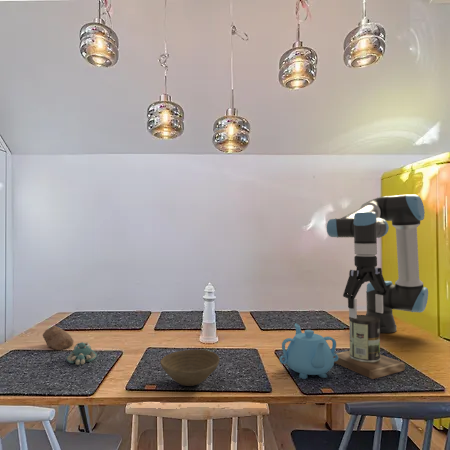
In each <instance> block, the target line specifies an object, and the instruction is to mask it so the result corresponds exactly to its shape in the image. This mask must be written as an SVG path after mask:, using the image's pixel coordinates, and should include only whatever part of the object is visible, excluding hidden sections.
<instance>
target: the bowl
mask: <svg viewBox="0 0 450 450" xmlns="http://www.w3.org/2000/svg"><path fill="white" fill-rule="evenodd" d="M159 362H160V366H161V368H162V370H163V371H164V372H165V373H166V374H167V375H168V376H169V377H170V378H172V380H173V381H174V382H175V383H177V384H178V385H181V386H185V387H192V386H196V385H199V384H200V383H202V382H204V381H206V379H208V378H209V376H210V375H211V374H212V373H214V371H215V370H216V369H217V367H218V366H219V363H220V356H219V355H218V354H217V353H215V352H214V351H210V350H206V349H205V350H204V349H184V350H179V351H175V352H171V353H169V354H166V355H165V356H163V358H161V359H160V361H159Z"/></svg>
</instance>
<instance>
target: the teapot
mask: <svg viewBox="0 0 450 450" xmlns="http://www.w3.org/2000/svg"><path fill="white" fill-rule="evenodd" d="M294 327H295V335H294V336H293V338H291V337H289V338H288V337H287V338H286V339H284V340H283V341H282V342H281V349H282V355H281V356H280V357H279V362H280V363H281V364H283V365H286V364H287V366H288V367H289V368H290V369H291V370H292V371H293V372H296V373H298V378H299V379H301V378H302V380H306V378H307V379H308V375H309V376H310V375H311V376H316V375H317V376H318V377H320V378H321V379H323V378H325V379H326V378H328V375H327V373H328V372H329V371H330V370H332V368H333V367H334V364H335V363H334V362H336V361H337V360H338V355H337V354H336V353H335V352H336V348H337V340H335V338H333V337H331V336H323V335H320V334H319V333H315V330H312V329H305V330H304V332H302V329H301V326H300V324H298V323H294ZM327 341H331V342H332V346H331V347H330V345H329V344H328V342H327ZM288 342H289V344H288V346H287V348H286V344H287V343H288ZM334 356H336V357H335V358H333V357H334ZM283 358H284V359H283Z"/></svg>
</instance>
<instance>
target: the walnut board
mask: <svg viewBox="0 0 450 450" xmlns="http://www.w3.org/2000/svg"><path fill="white" fill-rule="evenodd" d="M335 354H337V355H338V360H337V361H336V362H334V364H336V365H338V366H340V365H341V367H342V368H346V369H347V368H348V370H350V371H352V372H354V373H357V374H359V375H361V376H364V377H366V378H369V379H371V380H375V379H379V378H382V377H385V376H389V375H393V374H397V373H400V372H403V371H405V370H406V369H405V366H406V364H405V362H402V361H401V360H397V359H395V358H393V357H392V358H391V357H389V356H386V355H383V354H380V361H378V362H371V363H370V362H360V361H357V360H354V359H352V358H351V357H350V350H346V351H342V352H341V351H340V352H337V353H335ZM335 357H336V356H334V357H333V358H335Z"/></svg>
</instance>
